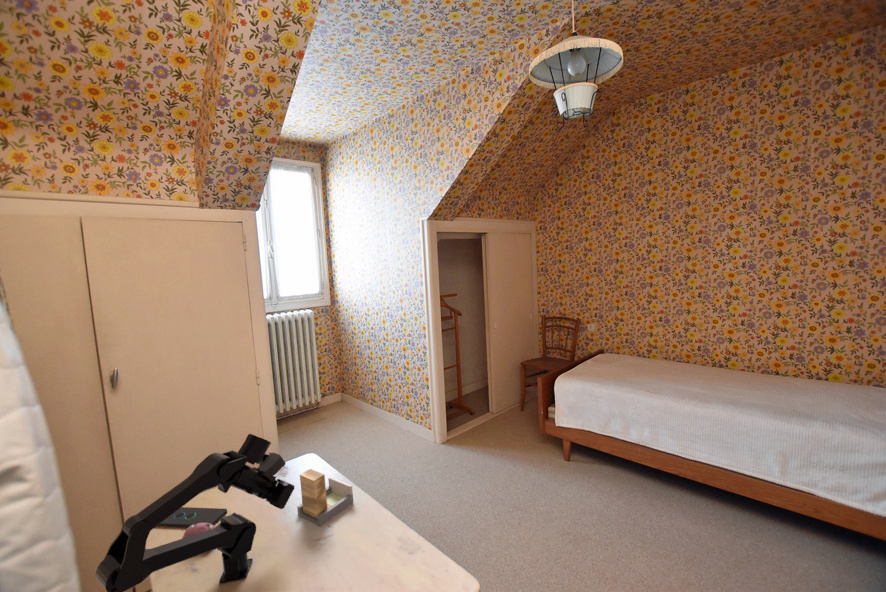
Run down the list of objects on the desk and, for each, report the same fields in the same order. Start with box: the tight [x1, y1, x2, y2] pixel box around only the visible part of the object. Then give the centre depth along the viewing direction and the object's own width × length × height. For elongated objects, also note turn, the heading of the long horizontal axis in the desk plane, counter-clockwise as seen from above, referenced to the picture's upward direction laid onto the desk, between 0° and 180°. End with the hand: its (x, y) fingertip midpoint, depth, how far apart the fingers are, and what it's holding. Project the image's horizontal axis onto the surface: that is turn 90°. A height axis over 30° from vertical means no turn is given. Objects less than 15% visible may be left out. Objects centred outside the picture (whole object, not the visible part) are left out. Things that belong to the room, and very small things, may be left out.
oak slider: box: [299, 468, 327, 519], centre depth 123 cm, size 4×7×12 cm, turn 56°
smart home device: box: [157, 506, 228, 529], centre depth 126 cm, size 8×2×20 cm
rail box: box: [296, 476, 354, 528], centre depth 127 cm, size 14×11×6 cm
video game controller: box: [181, 523, 217, 539], centre depth 113 cm, size 10×5×7 cm, turn 85°
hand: (287, 495), depth 115 cm, fingers closed
